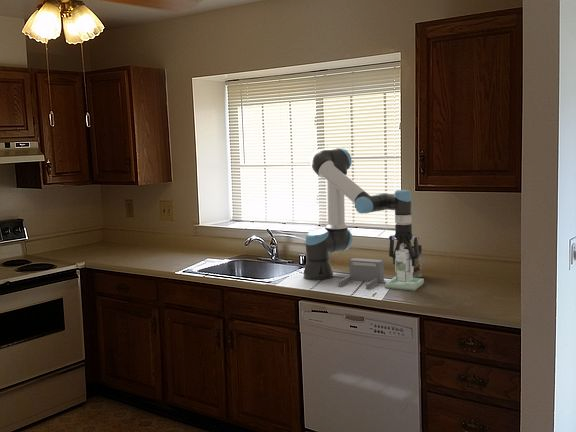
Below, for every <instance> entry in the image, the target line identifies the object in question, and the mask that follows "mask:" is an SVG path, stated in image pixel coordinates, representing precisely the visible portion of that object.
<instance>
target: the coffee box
mask: <svg viewBox="0 0 576 432" xmlns="http://www.w3.org/2000/svg"><path fill="white" fill-rule="evenodd" d="M411 246H412V248H413V251H414V243H411ZM418 248H419V258H416V259H415V266H413V268H414V272H413V273H412V274H413V278H422V277H423V268H422V267H423V266H422V265H423V263H422V256H423V255H422V252H423V251H422V245H421V244H419V243H418ZM399 249H406V250H408V247H407V246H406V244H401V245H400V248H399ZM414 254H415V251H414Z"/></svg>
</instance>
